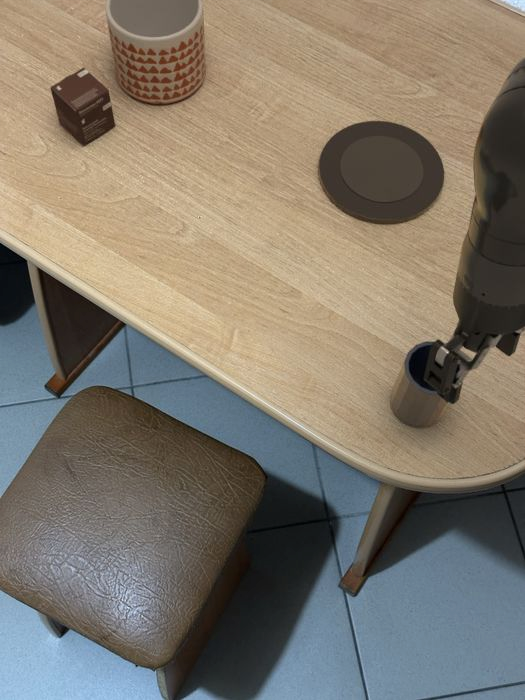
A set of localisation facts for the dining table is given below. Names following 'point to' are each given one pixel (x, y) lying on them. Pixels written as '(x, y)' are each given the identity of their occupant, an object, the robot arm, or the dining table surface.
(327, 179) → the plate
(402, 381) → the cup
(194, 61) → the planter
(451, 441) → the dining table surface
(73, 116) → the box
